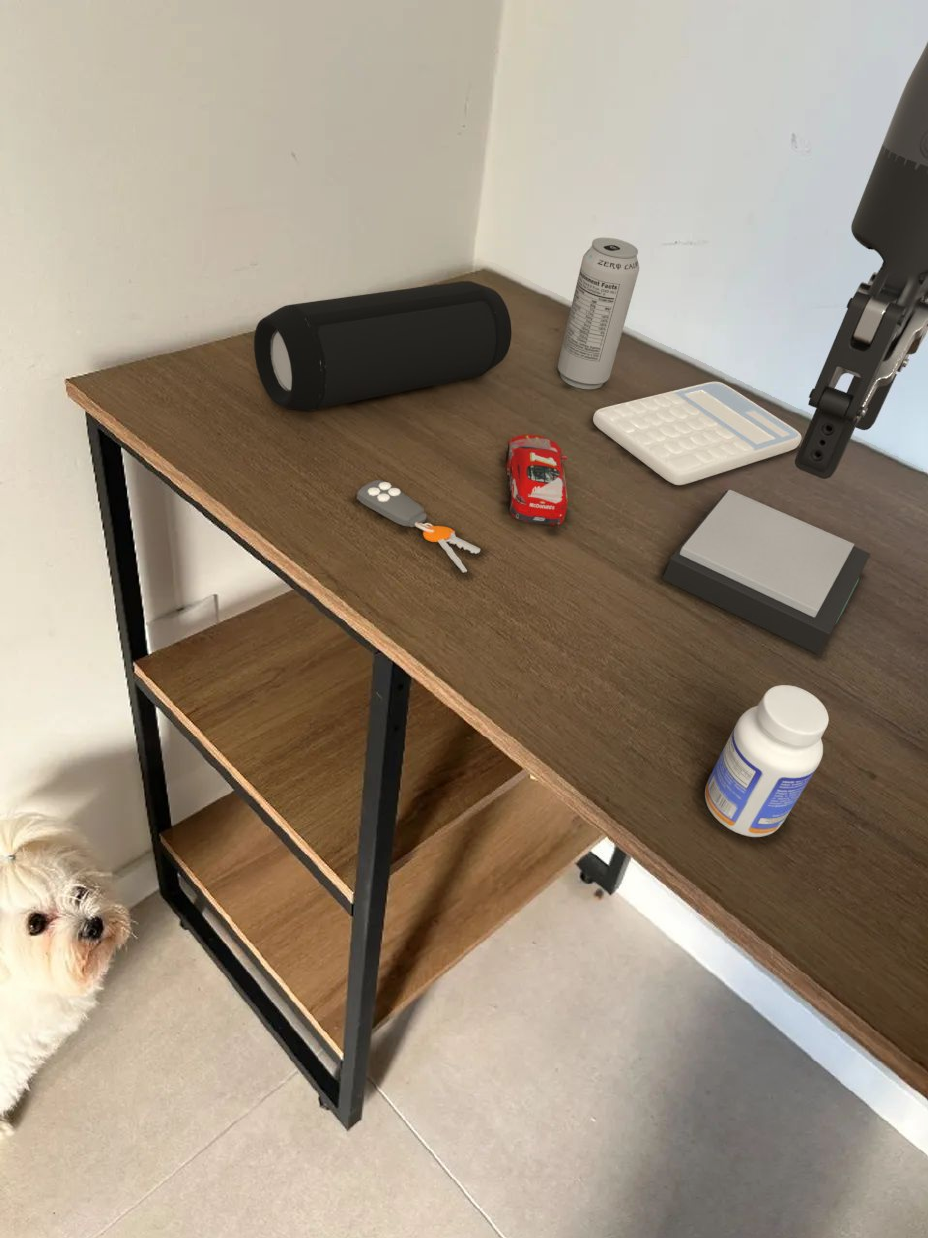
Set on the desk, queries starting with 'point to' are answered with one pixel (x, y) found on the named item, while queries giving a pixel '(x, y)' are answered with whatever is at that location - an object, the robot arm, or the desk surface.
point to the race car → (536, 480)
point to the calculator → (696, 431)
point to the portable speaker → (380, 343)
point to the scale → (768, 569)
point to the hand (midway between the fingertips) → (834, 446)
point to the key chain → (410, 516)
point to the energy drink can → (598, 312)
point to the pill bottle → (767, 761)
